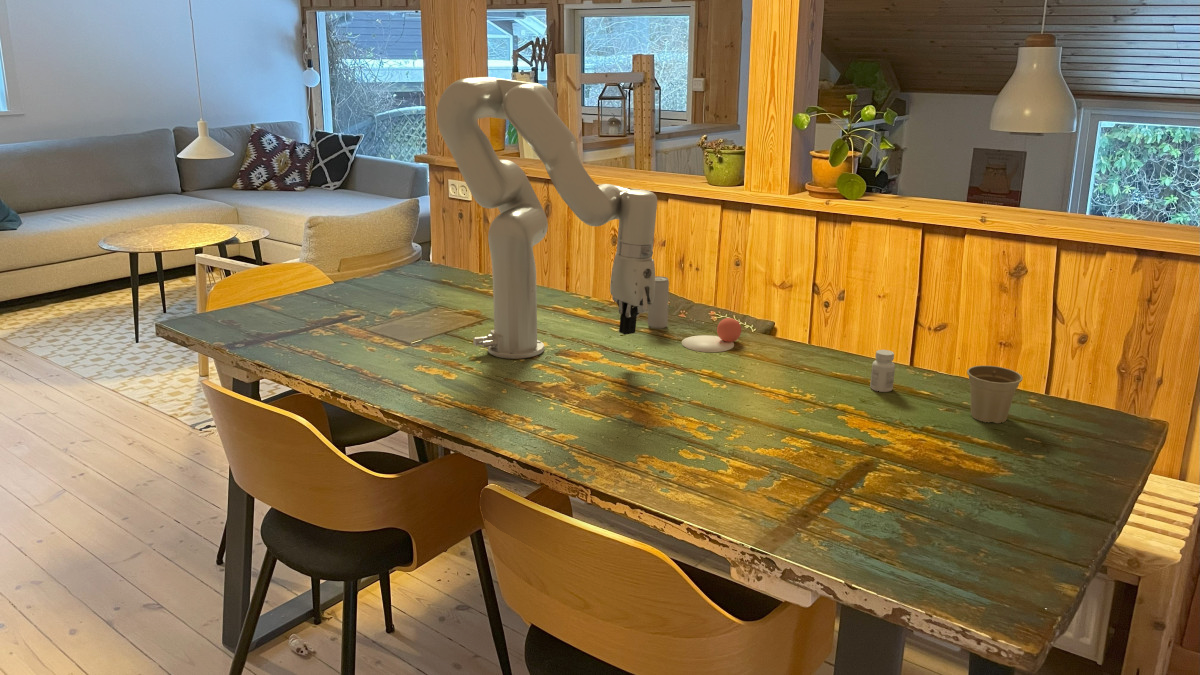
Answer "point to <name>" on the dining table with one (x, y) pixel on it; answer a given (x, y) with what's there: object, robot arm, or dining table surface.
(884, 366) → the pill bottle
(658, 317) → the beverage can
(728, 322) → the ball
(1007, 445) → the dining table surface
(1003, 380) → the flower pot
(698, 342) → the disc
